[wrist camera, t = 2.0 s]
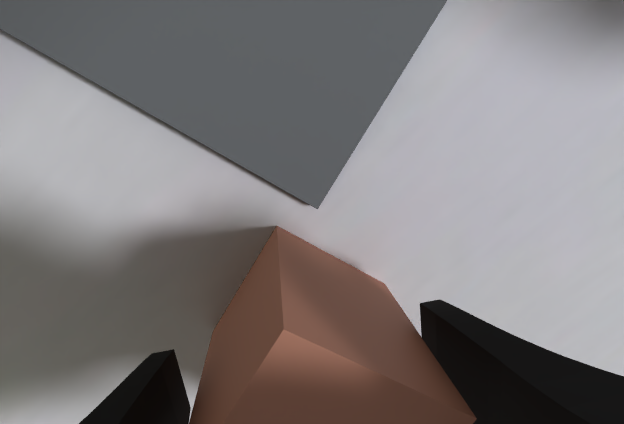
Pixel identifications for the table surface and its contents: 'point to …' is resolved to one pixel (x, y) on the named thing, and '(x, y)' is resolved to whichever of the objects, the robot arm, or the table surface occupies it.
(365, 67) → the charcoal mat
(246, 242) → the table surface
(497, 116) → the table surface
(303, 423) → the brick-red block
